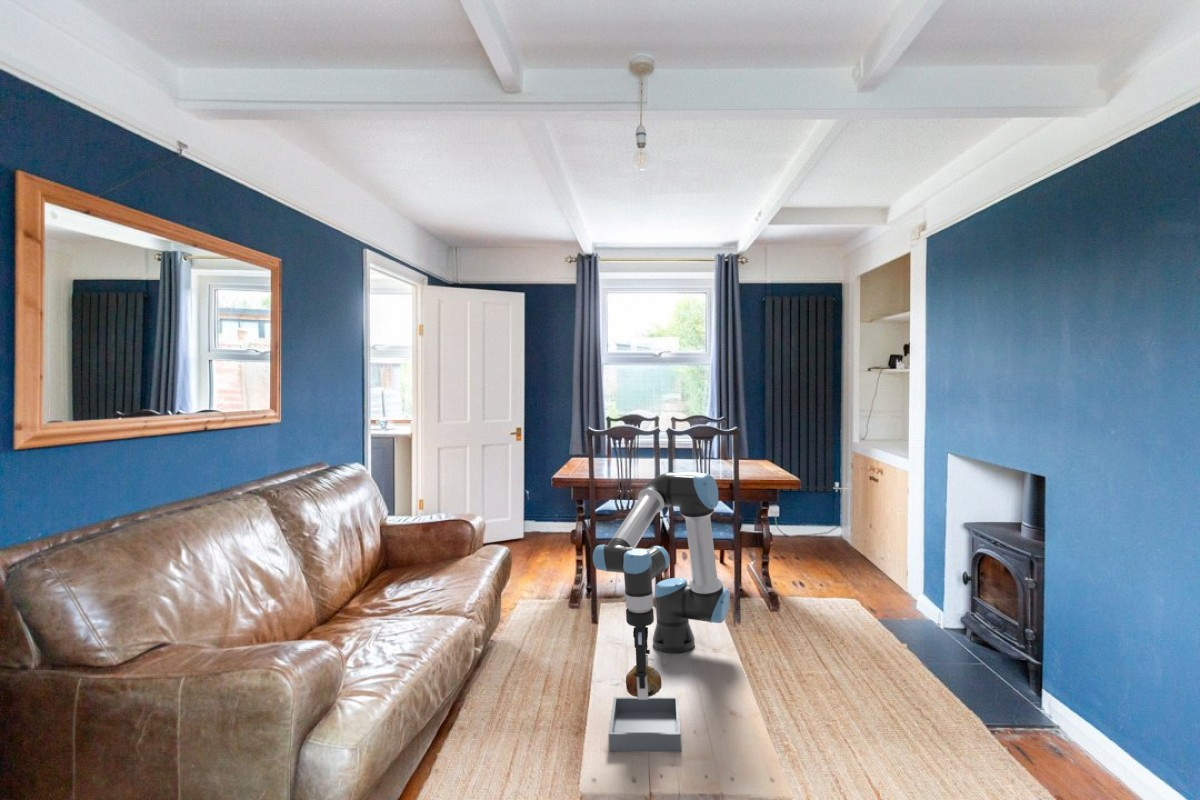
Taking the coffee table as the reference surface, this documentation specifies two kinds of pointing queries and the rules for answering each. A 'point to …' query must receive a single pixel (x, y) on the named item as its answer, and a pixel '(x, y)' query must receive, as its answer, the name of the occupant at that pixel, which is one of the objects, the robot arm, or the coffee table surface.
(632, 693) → the bread roll
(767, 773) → the coffee table surface
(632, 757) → the coffee table surface
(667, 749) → the grey tray
